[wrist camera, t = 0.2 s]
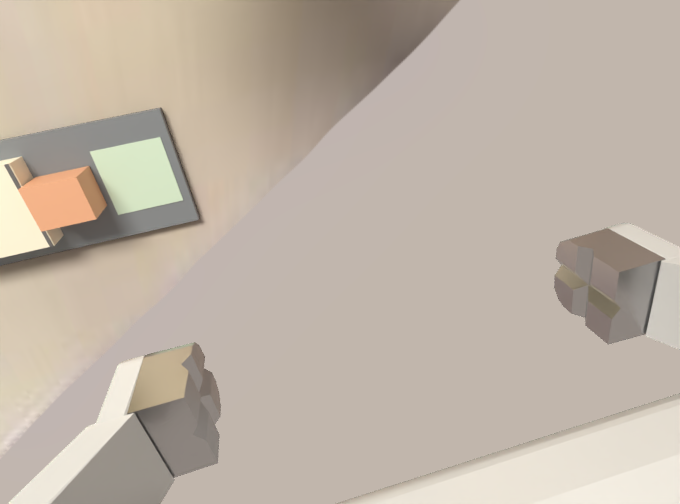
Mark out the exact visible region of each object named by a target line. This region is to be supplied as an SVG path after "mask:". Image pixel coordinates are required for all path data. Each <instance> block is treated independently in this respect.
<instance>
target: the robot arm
mask: <svg viewBox="0 0 680 504" xmlns="http://www.w3.org/2000/svg"><path fill="white" fill-rule="evenodd" d="M556 259H557V260H558V262H559V263H560V264H561V267H560V268H559V270H558V271H557V273H556V274H555V286H554V288H555V291H556V294H557V296H558V299H559V301H560V302H561V303H562V305H563V306H564V307H565V308H566V309H567V310H568V311H569V312H570V313H572V314H575V315H578V316H581V317H585V324H586V326H587V327H588V328H589V329H590V330H592V331H593V332H594V333H595V334H596V335H597V336H599V337H600V338H601V339H603V341H605V342H606V343H607V344H612V343H615V342H619V341H622V340H626V339H630V338H633V337H637V336H640V335H644V334H646V337H649V338H652V339H654V340H657V341H659V342H662V343H664V344H667V345H669V346H672V347H675V348H677V349H680V247H678V246H676V245H674V244H672V243H670V242H668V241H666V240H664V239H662V238H659V237H658V236H656V235H654V234H651V233H649V232H647V231H645V230H643V229H641V228H639V227H637V226H635V225H633V224H631V223H621V224H617V225H614V226H611V227H607V228H604V229H602V230H600V231H596V232H593V233H589V234H586V235H582V236H579V237H575V238H572V239H569V240H565V241H562V242H560V243H559V246H558V247H557V252H556ZM204 361H205V356H204V354H203V352H202V350H201V348H200V346H199V345H198V344H197V343H190V344H187V345H183V346H179V347H175V348H171V349H167V350H163V351H159V352H155V353H151V354H148V355H143V356H140V357H137V358H133V359H129V360H126V361H123V362H121V363H120V364H119V365H118V366H117V368H116V371H115V374H114V376H113V379H112V382H111V385H110V387H109V390H108V393H107V395H106V398H105V400H104V403H103V406H102V409H101V411H100V414H99V417H98V419H97V422H96V424H93V425H90V426H87V427H86V428H85V429H84V430H83V431H82V432H81V433H80V434H79V435H78V436H77V437H76V438H75V439H74V440H73V441H72V442H71V443H70V444H69V445H68V446H67V447H66V448H65V449H64V450H63V451H61V452H60V453H59V454H58V455H57V456H56V457H55V458H54V459H53V460H52V461H51V462H50V463H49V464H48V465H47V466H46V467H45V468H44V469H43V470H42V471H41V472H40V473H39V474H38V475H37V476H36V477H35V478H34V479H33V480H32V481H31V482H30V483H29V484H28V485H27V486H25V487H24V488H23V489H22V491H20V492H19V493H18V494H17V495H16V496H15V497H14V498H13V499H12V500H11V501H10V502H9V503H8V504H160V503H161V502H162V500H163V498H164V497H165V495H166V494H167V492H168V490H169V489H170V487H171V485H172V484H173V482H174V477H178V476H181V475H184V474H187V473H189V472H192V471H195V470H198V469H201V468H204V467H208V466H211V465H214V464H217V463H218V449H219V433H218V431H217V428H216V426H215V423H216V422H217V421H218V419H219V417H220V411H221V409H220V408H221V404H220V397H219V391H218V387H217V384H216V381H215V378H214V376H213V374H212V372H210V371H208V370H206V369H204ZM337 504H680V393H679V394H676V395H673V396H670V397H667V398H664V399H661V400H657V401H654V402H651V403H648V404H645V405H642V406H639V407H635V408H632V409H629V410H626V411H623V412H620V413H617V414H614V415H611V416H607V417H604V418H601V419H598V420H595V421H592V422H589V423H586V424H582V425H580V426H576V427H573V428H570V429H567V430H564V431H561V432H557V433H554V434H551V435H548V436H545V437H542V438H539V439H536V440H533V441H529V442H527V443H523V444H520V445H517V446H514V447H511V448H508V449H505V450H502V451H499V452H495V453H492V454H489V455H486V456H483V457H480V458H476V459H473V460H470V461H467V462H464V463H461V464H458V465H455V466H452V467H448V468H445V469H442V470H439V471H436V472H433V473H430V474H427V475H424V476H420V477H417V478H414V479H411V480H408V481H405V482H402V483H399V484H395V485H393V486H389V487H386V488H383V489H380V490H377V491H374V492H371V493H367V494H364V495H362V496H358V497H355V498H352V499H349V500H346V501H343V502H340V503H337Z"/></svg>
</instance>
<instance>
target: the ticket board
mask: <svg viewBox="0 0 680 504" xmlns="http://www.w3.org/2000/svg"><path fill="white" fill-rule="evenodd" d="M86 166H89V167H90V169H91V171H92V173H93V175H94V177H95V180H96V182H97V184H98V186H99V188H100V190H101V193H102V195H103V197H104V199H105V201H106V203H107V206H106V208H105V209H104V210H103V211H102V213H101V214H100V215H99V217H98V218H97V219H95V220H91V221H87V222H82V223H78V224H73V225H69V226H64V227H60V228H55V229H51V230H47V231H42V232H41V230H40V229H39V227H38V225H37V223H36V222H35V220H34V218H33V216H32V214H31V213H30V211H29V209H28V207H27V205H26V204H25V202H24V200H23V198H22V197H21V195H20V193H19V191H18V189H19V188H21V187H22V186H24V185H25V184H26V183H28V182H29V181H31V180H32V179H34V178H35V177H39V176H43V175H48V174H53V173H57V172H62V171H67V170H71V169H76V168H81V167H86ZM195 220H199V214H198V211H197V208H196V205H195V203H194V200H193V197H192V194H191V191H190V188H189V186H188V183H187V180H186V177H185V174H184V171H183V169H182V166H181V163H180V160H179V157H178V154H177V152H176V149H175V146H174V143H173V140H172V137H171V135H170V132H169V129H168V126H167V123H166V120H165V118H164V115H163V112H162V109H161V108H156V109H151V110H146V111H141V112H136V113H131V114H126V115H122V116H117V117H112V118H107V119H102V120H97V121H92V122H87V123H82V124H77V125H72V126H67V127H62V128H57V129H52V130H47V131H42V132H37V133H33V134H28V135H23V136H18V137H13V138H8V139H3V140H0V266H1V265H5V264H9V263H14V262H18V261H22V260H27V259H31V258H35V257H40V256H44V255H48V254H53V253H57V252H61V251H66V250H70V249H74V248H79V247H83V246H87V245H92V244H96V243H100V242H105V241H109V240H113V239H118V238H122V237H126V236H131V235H135V234H139V233H144V232H148V231H152V230H157V229H161V228H165V227H170V226H174V225H178V224H182V223H187V222H191V221H195Z"/></svg>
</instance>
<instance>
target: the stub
mask: <svg viewBox="0 0 680 504" xmlns="http://www.w3.org/2000/svg"><path fill="white" fill-rule="evenodd" d="M18 191H19V193H20V195H21V197H22V198H23V200H24V202H25V204H26V205H27V207H28V209H29V211H30V213H31V214H32V216H33V218H34V220H35V222H36V223H37V225H38V227H39V229H40V230H41V232H42V231H47V230H51V229H55V228H60V227H64V226H69V225H73V224H78V223H82V222H87V221H91V220H95V219H97V218H98V217H99V215H100V214H101V213H102V211H103V210H104V209H105V208H106V206H107V203H106V201H105V199H104V197H103V195H102V193H101V190H100V188H99V186H98V184H97V182H96V180H95V177H94V175H93V173H92V171H91V169H90V167H89V166H86V167H81V168H76V169H71V170H67V171H62V172H57V173H53V174H48V175H43V176H39V177H35V178H34V179H32V180H31V181H29V182H28V183H26V184H25V185H24V186H22V187H21V188H19V189H18Z"/></svg>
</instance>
